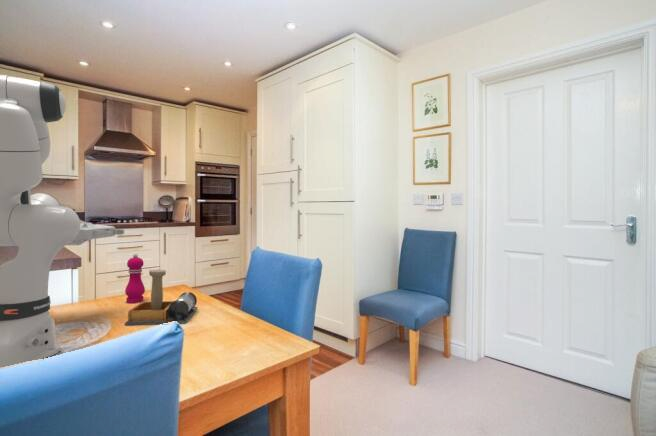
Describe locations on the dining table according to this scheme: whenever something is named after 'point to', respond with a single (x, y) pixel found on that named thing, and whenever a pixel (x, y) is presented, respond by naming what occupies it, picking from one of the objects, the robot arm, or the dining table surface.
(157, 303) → the handle
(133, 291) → the pepper mill
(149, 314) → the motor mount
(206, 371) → the dining table surface
